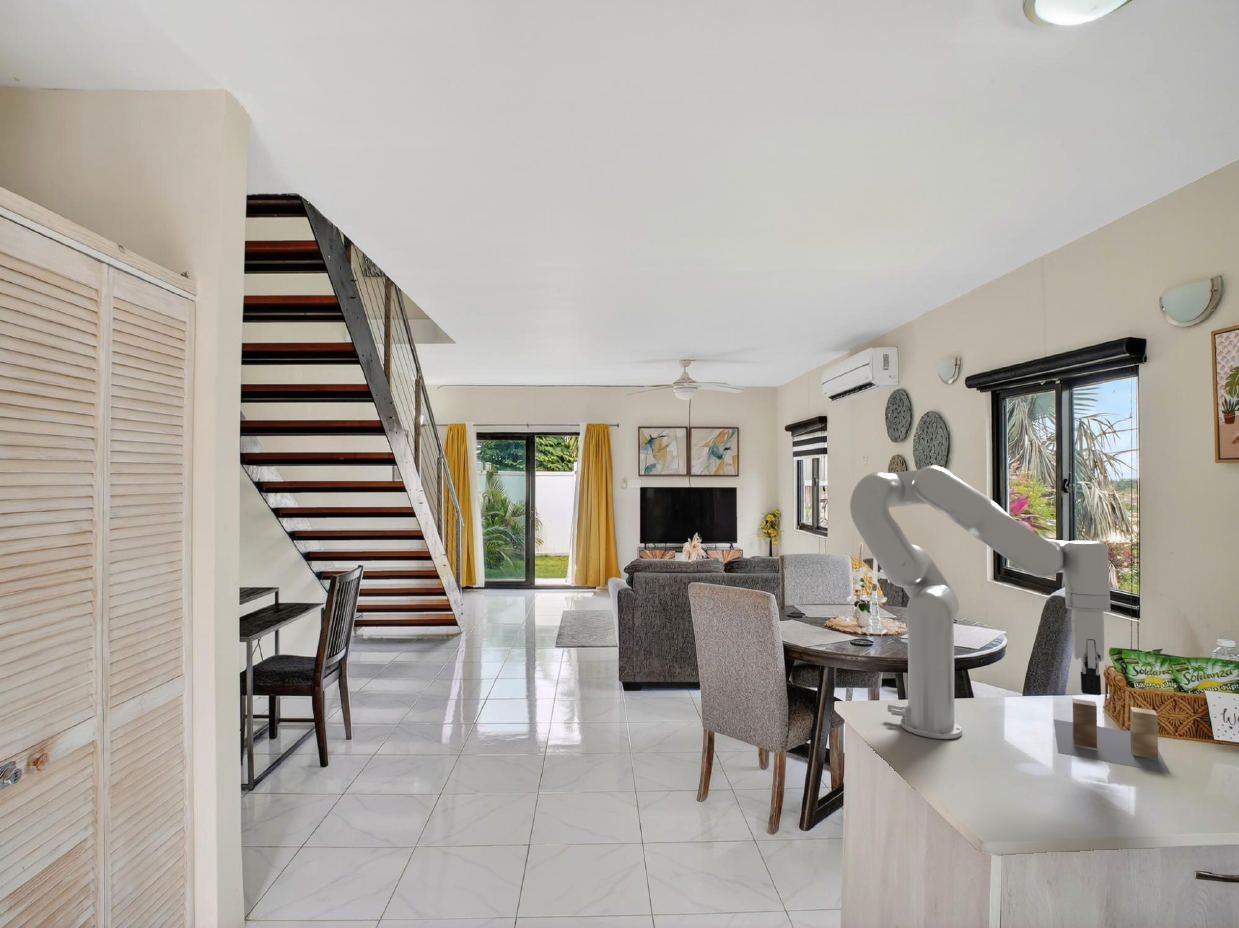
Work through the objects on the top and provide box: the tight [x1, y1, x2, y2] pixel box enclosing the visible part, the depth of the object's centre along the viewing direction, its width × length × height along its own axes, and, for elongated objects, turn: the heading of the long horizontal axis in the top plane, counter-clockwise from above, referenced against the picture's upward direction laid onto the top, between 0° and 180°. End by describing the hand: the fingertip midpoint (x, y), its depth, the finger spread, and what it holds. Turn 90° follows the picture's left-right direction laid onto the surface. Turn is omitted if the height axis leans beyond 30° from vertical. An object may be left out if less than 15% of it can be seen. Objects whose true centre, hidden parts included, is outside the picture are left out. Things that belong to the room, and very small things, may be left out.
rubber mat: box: [1053, 718, 1171, 774], centre depth 145 cm, size 18×24×1 cm
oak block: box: [1129, 706, 1159, 761], centre depth 138 cm, size 4×4×9 cm
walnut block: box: [1072, 698, 1098, 750], centre depth 143 cm, size 4×4×9 cm
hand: (1091, 693), depth 137 cm, fingers closed
